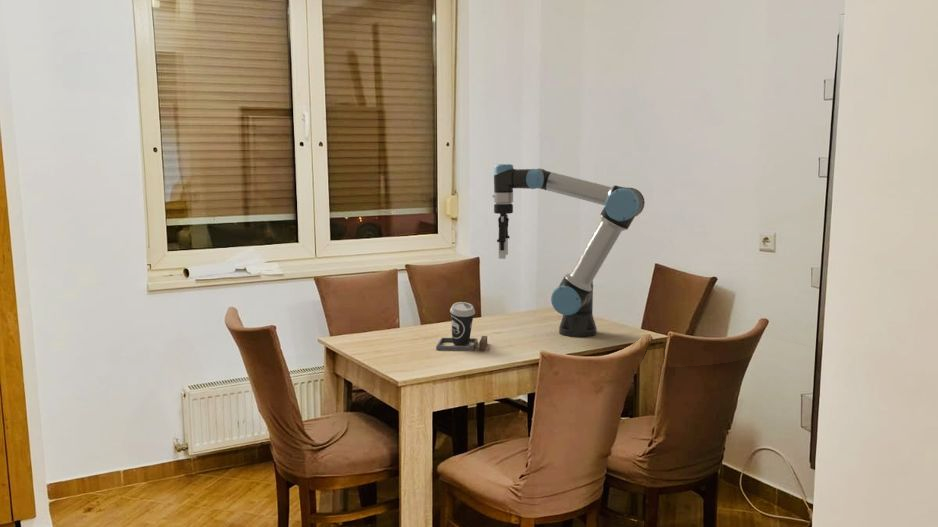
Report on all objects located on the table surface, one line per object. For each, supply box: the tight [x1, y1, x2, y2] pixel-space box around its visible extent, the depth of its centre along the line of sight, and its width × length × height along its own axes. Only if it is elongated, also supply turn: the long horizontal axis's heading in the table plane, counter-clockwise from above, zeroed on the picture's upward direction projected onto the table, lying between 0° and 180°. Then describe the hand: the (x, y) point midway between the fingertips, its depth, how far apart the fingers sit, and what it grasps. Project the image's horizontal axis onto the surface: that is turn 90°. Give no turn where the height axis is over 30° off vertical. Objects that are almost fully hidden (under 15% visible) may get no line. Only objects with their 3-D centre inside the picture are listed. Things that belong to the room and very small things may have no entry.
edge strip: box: [478, 335, 488, 352], centre depth 293 cm, size 2×12×3 cm, turn 173°
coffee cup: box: [449, 301, 476, 346], centre depth 296 cm, size 10×10×15 cm
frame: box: [435, 337, 479, 352], centre depth 295 cm, size 14×14×2 cm
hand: (503, 256), depth 311 cm, fingers open, 13 cm apart
